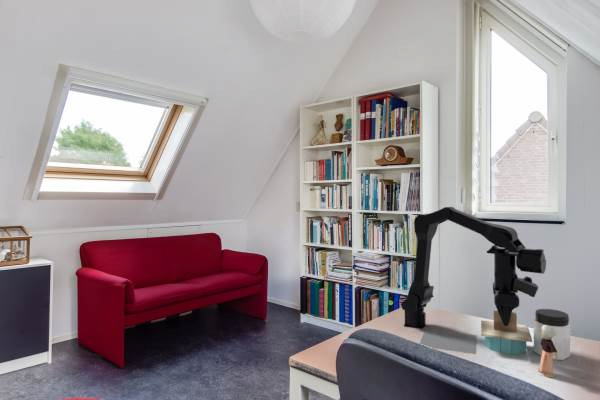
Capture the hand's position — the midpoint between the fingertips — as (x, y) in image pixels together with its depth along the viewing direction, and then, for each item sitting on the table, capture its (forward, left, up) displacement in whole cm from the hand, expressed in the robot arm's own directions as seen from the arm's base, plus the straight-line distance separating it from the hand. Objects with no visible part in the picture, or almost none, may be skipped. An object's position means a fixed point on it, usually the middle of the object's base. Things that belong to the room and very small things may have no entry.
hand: (505, 320), depth 120 cm
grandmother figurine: (+9, -15, -8) cm, 19 cm away
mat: (-16, -1, -8) cm, 18 cm away
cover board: (0, 0, -3) cm, 3 cm away
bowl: (0, 0, -8) cm, 8 cm away
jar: (+12, 0, -8) cm, 15 cm away
